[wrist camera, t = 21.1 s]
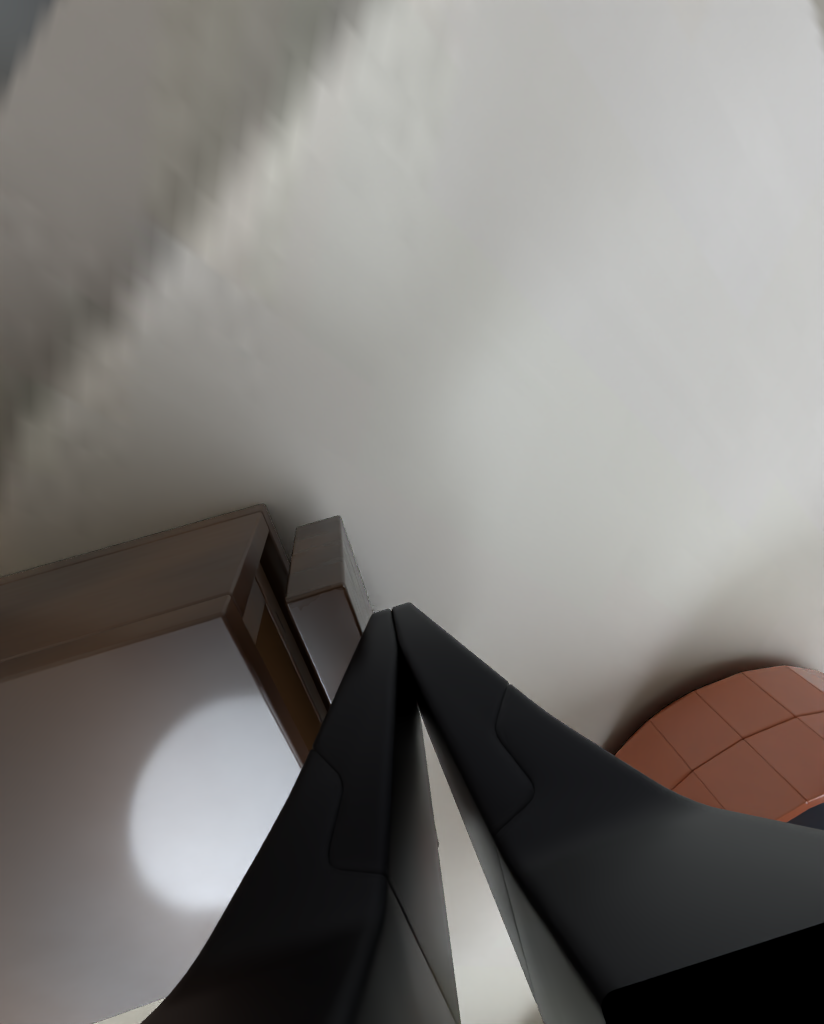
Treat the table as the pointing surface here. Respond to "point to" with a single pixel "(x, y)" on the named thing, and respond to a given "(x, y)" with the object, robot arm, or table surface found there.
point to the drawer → (311, 621)
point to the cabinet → (134, 762)
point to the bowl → (740, 743)
